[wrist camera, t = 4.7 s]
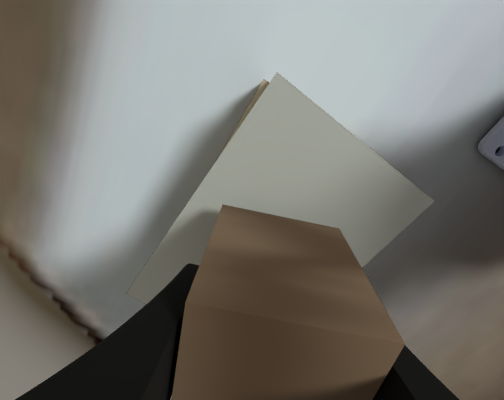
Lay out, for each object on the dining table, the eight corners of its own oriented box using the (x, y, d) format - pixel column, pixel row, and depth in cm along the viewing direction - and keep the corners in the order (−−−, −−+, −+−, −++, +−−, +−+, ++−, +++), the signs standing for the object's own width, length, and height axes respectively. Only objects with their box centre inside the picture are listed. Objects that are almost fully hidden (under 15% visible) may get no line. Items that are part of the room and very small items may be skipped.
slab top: (403, 182, 13) (434, 201, 11) (258, 327, 17) (257, 365, 14) (273, 76, 11) (276, 72, 9) (146, 263, 15) (125, 293, 13)
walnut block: (339, 228, 10) (405, 344, 5) (306, 317, 12) (334, 463, 7) (222, 204, 10) (185, 301, 5) (205, 297, 11) (166, 435, 7)
